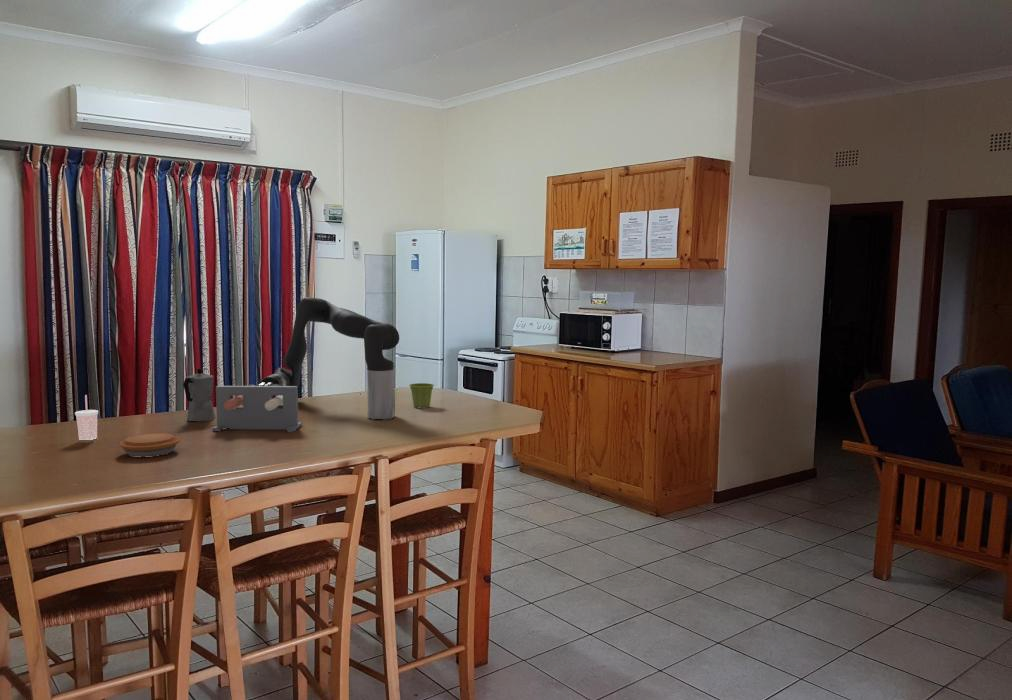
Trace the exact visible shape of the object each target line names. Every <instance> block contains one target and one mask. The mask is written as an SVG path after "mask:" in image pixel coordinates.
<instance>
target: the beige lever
mask: <svg viewBox="0 0 1012 700" xmlns="http://www.w3.org/2000/svg"><path fill="white" fill-rule="evenodd" d="M279 406H282V407H283V396H274V398H271V400H270V401H268V402H266V403H265V409H266V410H268V411H271V410H273V409H275V408H279Z"/></svg>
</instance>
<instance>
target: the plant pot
mask: <svg viewBox="0 0 1012 700" xmlns="http://www.w3.org/2000/svg"><path fill="white" fill-rule="evenodd" d="M408 386H409V388H410V390H411V396H412V403H413V408H417V407H426V408H430V407H429V406H431V399H432V393H433V392H432V391H433V388H434V386H435V384H433V383H425V382H424V383H422V382H421V383H420V382H419V383H410V384H408Z"/></svg>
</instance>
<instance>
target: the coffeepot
mask: <svg viewBox="0 0 1012 700" xmlns="http://www.w3.org/2000/svg"><path fill="white" fill-rule="evenodd" d="M196 371H197V373H195V374H192V375H191V374H190V375H188V376H186V377H185V378H184V381H183V383H182V384H183V385H182V386H183V389H184V393H185V397H186V399H187V402H189V403H188V410H187V418H186V421H188V420H189V421H188V422H190V421H205V422H207V421H206V420H211V419H214V418H216V414H215V411H214V406H213V401H212V395H213V389H214V379H215V376H214V375H212V374H207V373H206V374H205V373H202V372H203V368H197V369H196ZM214 420H215V419H214ZM211 421H212V420H211Z"/></svg>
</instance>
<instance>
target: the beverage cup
mask: <svg viewBox="0 0 1012 700" xmlns="http://www.w3.org/2000/svg"><path fill="white" fill-rule="evenodd" d="M84 402H85V410H83V409H82V410H76V411H75V412H74V416H76V417H75V418H76V425H77V431H78V432H77V433H78V441H79V440H93V439H96V438H97V439H98V414H99V410H97V409H88V395H87V394H85V395H84Z"/></svg>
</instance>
